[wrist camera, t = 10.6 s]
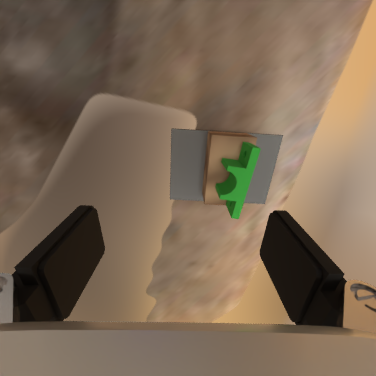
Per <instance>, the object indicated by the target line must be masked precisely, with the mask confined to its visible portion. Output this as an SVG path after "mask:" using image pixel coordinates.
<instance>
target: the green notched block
mask: <svg viewBox="0 0 376 376" xmlns="http://www.w3.org/2000/svg"><path fill="white" fill-rule="evenodd" d="M260 150H261V148H259V147H257V146H255V145H253V144H252V143H249V142H243V144H242V147H241V151H240V155H239V158H238V160H234V159H227V158H222V161H221V163H222V164H223V166H224V167H225V169H226V170H227V171H229V172H230V175H229V177H228V179H227V180H226V181H224V182H222V183H216V186H215V188H216V191H217V193H218V196H219V199H222V200H227V202H226V206H227V208H228V211H229V213H230V215H231V218H235V219H239V216H240V213H241V209H242V206H243V203H244V200H245V197H246V194H247V191H248V188H249V184H250V181H251V178H252V175H253V172H254V169H255V166H256V163H257V159H258V156H259V153H260Z"/></svg>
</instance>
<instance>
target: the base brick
mask: <svg viewBox="0 0 376 376" xmlns="http://www.w3.org/2000/svg"><path fill="white" fill-rule="evenodd" d="M256 141H257V137H254V136H252V135H250V134H247V133H232V132H215V131H208V138H207V148H206V158H205V168H204V178H203V188H202V195H203V200H204V204H212V205H226V202H227V200H222V199H219V196H218V193H217V191H216V188H215V186H216V183H222V182H224V181H226V180H227V179H228V177H229V175H230V172H229V171H227V170H226V169H225V167H224V166H223V164H222V163H221V161H222V158H227V159H234V160H238V158H239V155H240V151H241V147H242V144H243V142H249V143H252V144H253V145H255V146H256Z"/></svg>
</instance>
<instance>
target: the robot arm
mask: <svg viewBox="0 0 376 376" xmlns="http://www.w3.org/2000/svg"><path fill="white" fill-rule="evenodd" d="M104 251H105V246H104V241H103V237H102V232H101V227H100V223H99V218H98V213H97V210H96V209H95V208H94V207H93V206H85V205H84V206H83V205H81V206H79V207H77V208H76V209H75V210H74V211H73V212H72V213H71V214H70V215H69V216H68V217H67V218H66V219H65V220H64V221H63V222H62V223H61V224H60V225H59V226H58V227H56V228H55V229H54V230H53V231H52V232H51V233H50V234H49V235H48V236H47V237H46V238H45V239H44V240H43V241H42V242H41V243H40V244H38V246H36V247H35V248H34V249H33V250H32V251H31V252H30V253H29V254H28V255H27V256H26V257H25V258H24V259H23V260H22V261H21V262H20V263H19V264H17V265H16V266H15V269H16V271H15V272H14V273H13V274H12V275H10V274H8V273H0V376H376V287H374V286H372V285H370V284H368V283H365V282H363V281H359V280H349V281H346V280H345V279H344V278H343V276H344V273H343V272H342V271H341V270H340V269H339V267H338V266H336V264H335V263H334V262H333V261H332V260H331V259H330V258H329V257H328V255H326V253H325V252H324V251H323V250H322V249H321V248H320V247H319V246H318V245H317V244H316V243H315V241H314V240H313V239H312V238H311V237H310V236H309V235H308V234H307V233H306V232H305V231H304V229H303V228H302V227H301V226H300V225H299V224H298V223H297V222H296V221H295V220H294V219H293V217H292V216H291V215H290V214H289V213H288V212H287V211H277V210H275V211H273V213H270V215H269V219H268V222H267V226H266V230H265V233H264V237H263V241H262V245H261V248H260V257H261V259H262V261H263V263H264V265H265V267H266V269H267V271H268V273H269V276H270V278H271V280H272V282H273V284H274V286H275V288H276V290H277V292H278V294H279V297H280V299H281V301H282V303H283V305H284V307H285V309H286V311H287V313H288V316H289V318H290V319H291V320H292V322H295V324H296V325H283V324H278V325H277V324H236V323H235V324H234V323H180V322H95V321H94V322H92V321H63V320H64V319H66V318H67V317H68V316H69V315H70V313H71V311H72V310H73V308H74V306H75V304H76V302H77V301H78V299H79V297H80V295H81V293H82V292H83V290H84V288H85V286H86V284H87V283H88V281H89V279H90V277H91V276H92V274H93V272H94V270H95V268H96V266H97V265H98V263H99V261H100V259H101V258H102V256H103V254H104Z"/></svg>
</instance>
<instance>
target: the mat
mask: <svg viewBox="0 0 376 376" xmlns="http://www.w3.org/2000/svg"><path fill="white" fill-rule="evenodd" d="M171 131H172V132H171V133H172V134H171V178H170V199H175V200H195V201H204V200H203V195H202V188H203V178H204V168H205V158H206V148H207V138H208V131H204V130H187V129H172V130H171ZM215 132H220V131H215ZM232 133H237V132H232ZM247 134H250V135H252V136H254V137H257V141H256V146H257V147H259V148H261V150H260V153H259V156H258V159H257V163H256V166H255V169H254V172H253V175H252V178H251V181H250V184H249V188H248V191H247V194H246V197H245V200H244V203H257V204H265V201H266V198H267V194H268V190H269V186H270V182H271V179H272V175H273V171H274V167H275V164H276V160H277V156H278V152H279V149H280V145H281V141H282V137H283V135H269V134H253V133H247Z"/></svg>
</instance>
